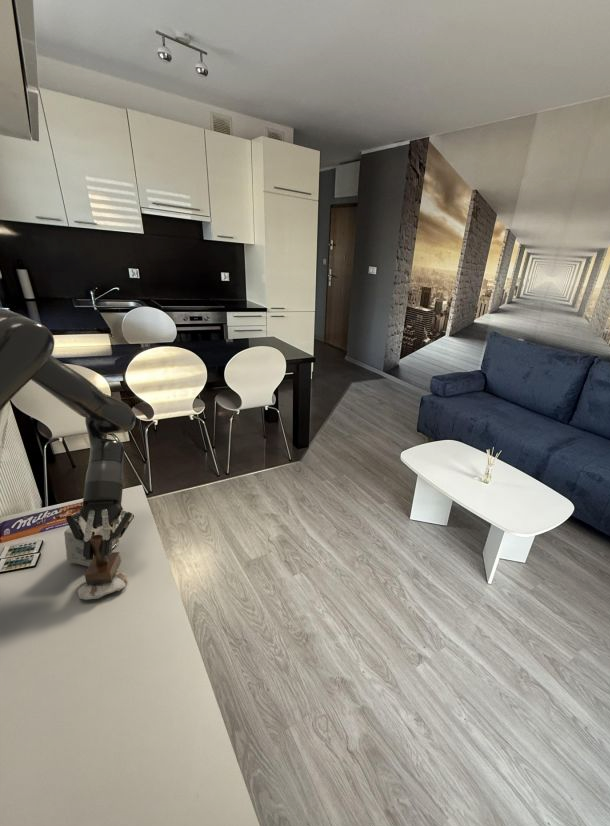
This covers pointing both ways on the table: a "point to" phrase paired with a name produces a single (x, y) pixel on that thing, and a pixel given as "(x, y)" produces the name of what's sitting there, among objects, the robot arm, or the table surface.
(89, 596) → the stone
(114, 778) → the table surface
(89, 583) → the stamp
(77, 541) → the incense holder
